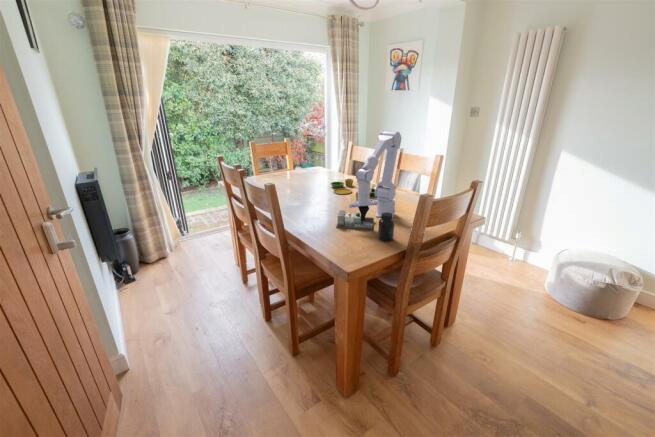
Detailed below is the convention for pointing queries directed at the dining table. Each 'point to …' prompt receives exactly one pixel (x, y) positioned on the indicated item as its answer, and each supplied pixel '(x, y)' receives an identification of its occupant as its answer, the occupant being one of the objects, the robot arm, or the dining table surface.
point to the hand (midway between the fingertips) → (362, 219)
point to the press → (364, 225)
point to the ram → (357, 218)
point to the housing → (349, 219)
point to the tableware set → (348, 191)
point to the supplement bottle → (386, 227)
